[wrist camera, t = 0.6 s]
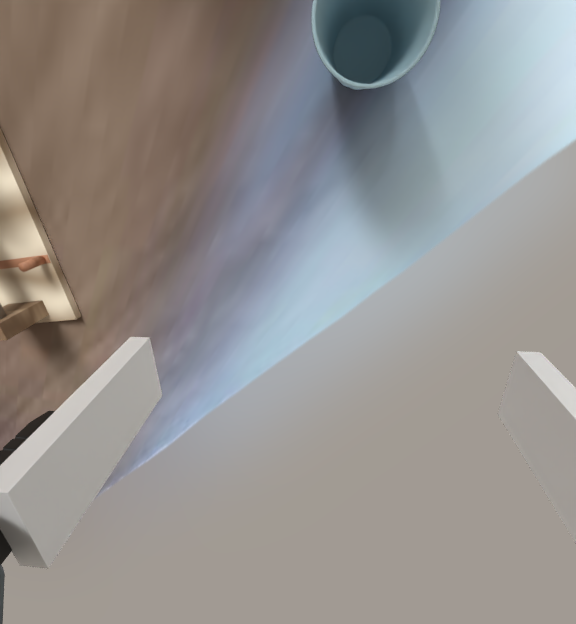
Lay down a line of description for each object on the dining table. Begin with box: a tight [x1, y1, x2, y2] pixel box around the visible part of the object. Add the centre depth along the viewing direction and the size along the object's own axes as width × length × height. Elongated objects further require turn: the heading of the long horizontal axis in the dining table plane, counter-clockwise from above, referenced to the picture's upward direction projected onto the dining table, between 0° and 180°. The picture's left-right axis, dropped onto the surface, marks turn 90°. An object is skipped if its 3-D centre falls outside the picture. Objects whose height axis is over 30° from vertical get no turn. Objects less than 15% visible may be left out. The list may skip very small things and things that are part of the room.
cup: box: [312, 0, 440, 90], centre depth 26 cm, size 8×8×10 cm
